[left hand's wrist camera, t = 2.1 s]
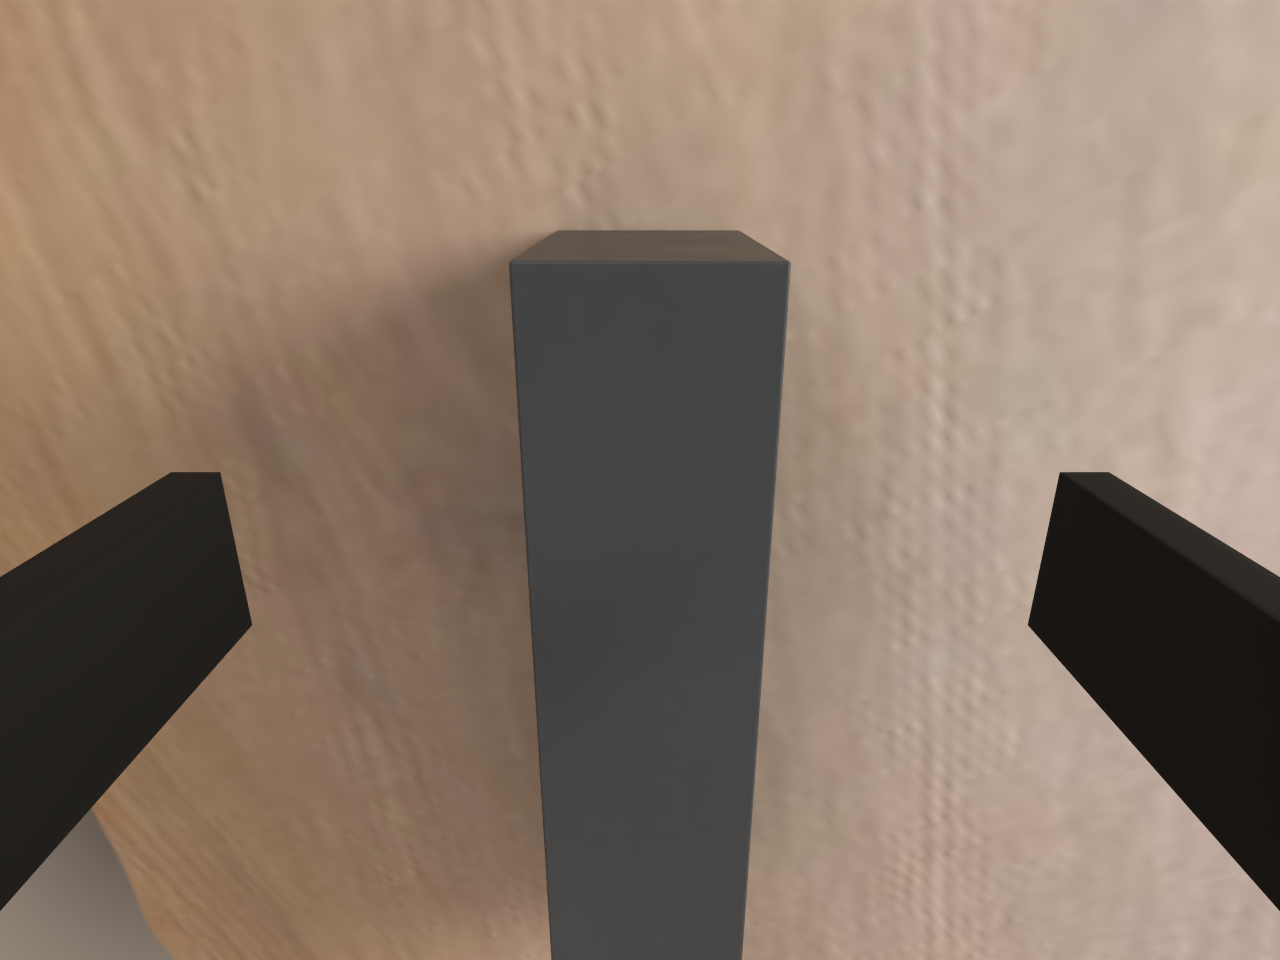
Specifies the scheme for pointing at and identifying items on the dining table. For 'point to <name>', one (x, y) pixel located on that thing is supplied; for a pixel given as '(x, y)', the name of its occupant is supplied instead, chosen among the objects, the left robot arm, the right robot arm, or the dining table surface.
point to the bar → (648, 574)
